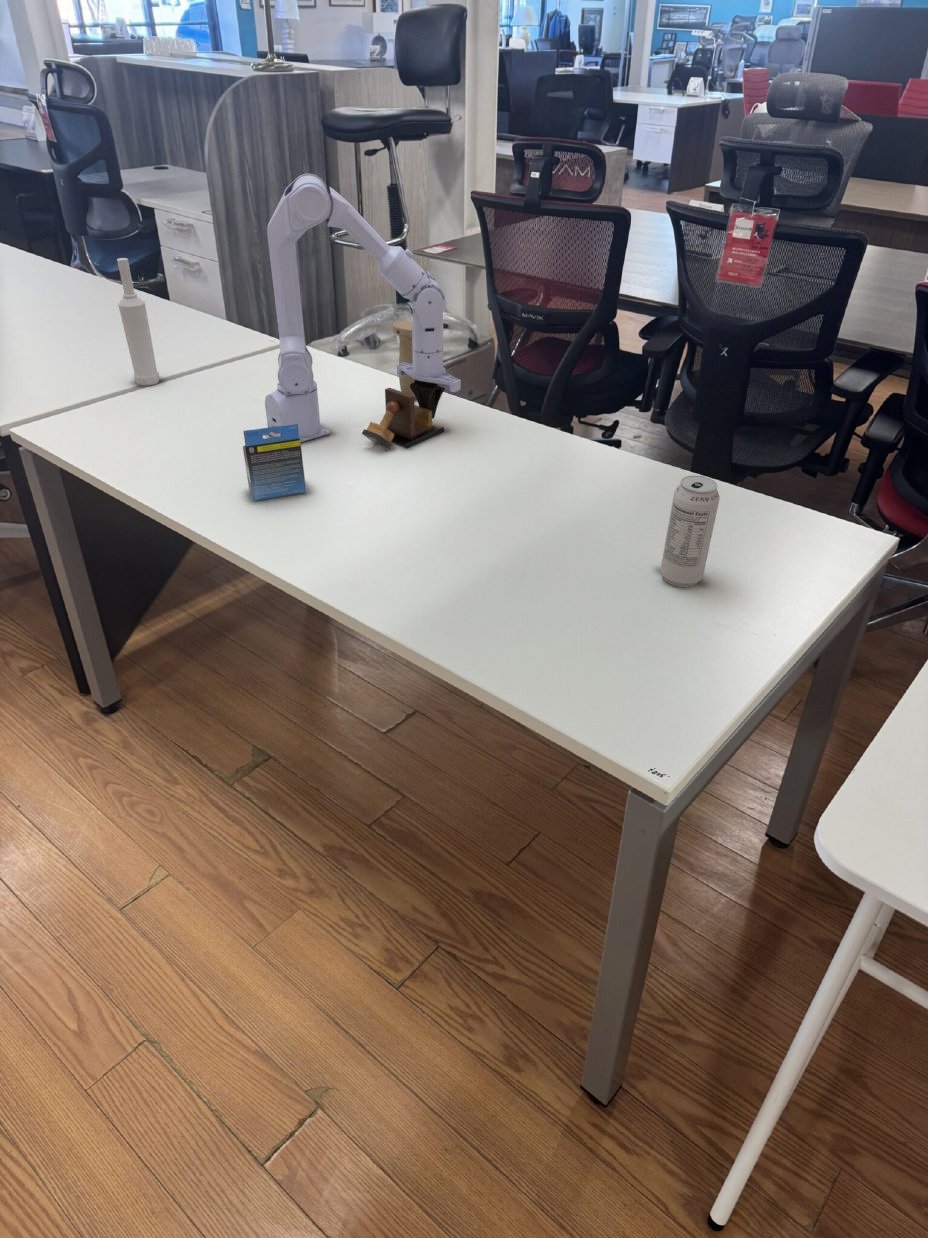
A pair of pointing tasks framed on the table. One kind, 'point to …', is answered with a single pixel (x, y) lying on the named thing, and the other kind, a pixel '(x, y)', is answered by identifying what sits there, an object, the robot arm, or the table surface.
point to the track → (416, 438)
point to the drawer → (408, 415)
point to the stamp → (382, 427)
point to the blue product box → (274, 462)
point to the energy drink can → (690, 531)
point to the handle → (405, 352)
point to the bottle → (137, 330)
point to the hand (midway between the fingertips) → (428, 418)
